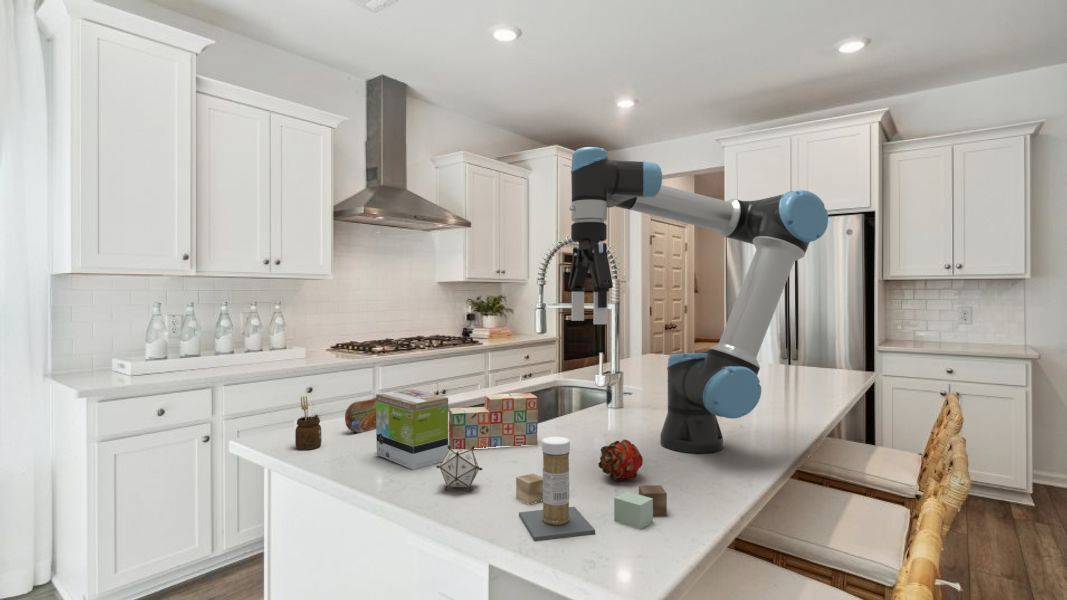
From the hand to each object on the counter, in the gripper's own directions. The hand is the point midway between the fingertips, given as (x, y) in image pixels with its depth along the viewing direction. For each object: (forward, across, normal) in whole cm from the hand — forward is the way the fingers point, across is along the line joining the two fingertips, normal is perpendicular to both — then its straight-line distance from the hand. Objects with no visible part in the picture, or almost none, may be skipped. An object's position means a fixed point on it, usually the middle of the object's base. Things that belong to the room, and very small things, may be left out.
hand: (588, 322), depth 120 cm
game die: (+32, +4, -28) cm, 43 cm away
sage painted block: (+32, +27, -2) cm, 42 cm away
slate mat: (+32, +25, -15) cm, 43 cm away
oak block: (+32, +13, -16) cm, 38 cm away
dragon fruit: (+32, +6, +5) cm, 33 cm away
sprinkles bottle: (+31, +25, -15) cm, 43 cm away
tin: (+32, -49, -46) cm, 74 cm away
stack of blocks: (+32, -25, -16) cm, 43 cm away
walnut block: (+32, +24, +3) cm, 40 cm away
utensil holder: (+32, -34, -60) cm, 76 cm away
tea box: (+32, -18, -36) cm, 51 cm away
